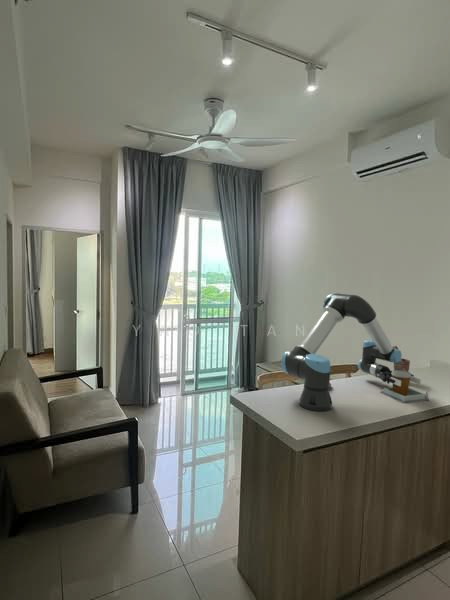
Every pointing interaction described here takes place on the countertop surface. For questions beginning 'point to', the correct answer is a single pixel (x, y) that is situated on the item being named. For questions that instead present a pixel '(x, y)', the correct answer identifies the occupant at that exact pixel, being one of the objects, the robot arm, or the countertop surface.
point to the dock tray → (411, 396)
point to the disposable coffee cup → (404, 379)
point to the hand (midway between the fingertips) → (410, 382)
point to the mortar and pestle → (402, 363)
